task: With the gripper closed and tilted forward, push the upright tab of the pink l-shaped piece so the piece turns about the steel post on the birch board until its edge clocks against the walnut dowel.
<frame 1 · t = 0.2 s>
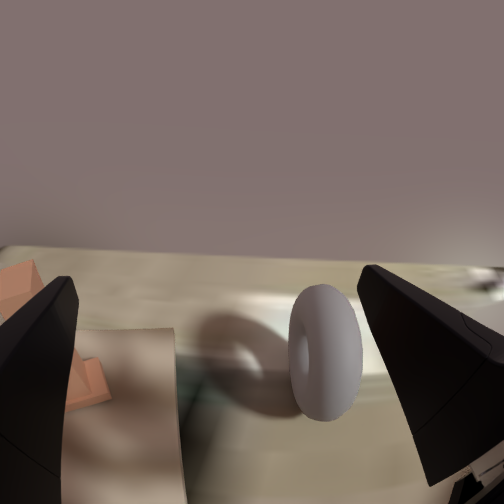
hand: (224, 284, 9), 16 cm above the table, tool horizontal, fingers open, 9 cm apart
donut: (306, 388, 23), on the table
board: (49, 449, 15), on the table
pink l-shaped piece: (11, 356, 14), point 7 cm above the table, hinge at 0.0°
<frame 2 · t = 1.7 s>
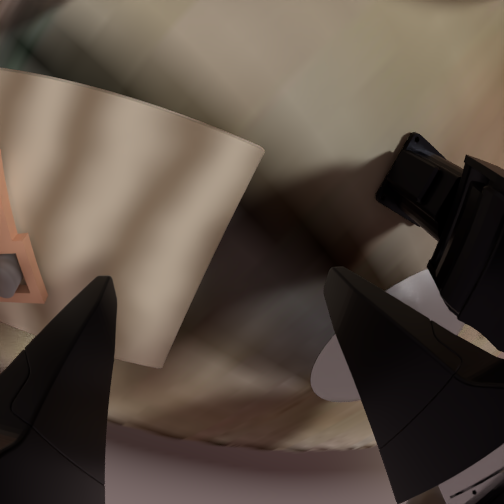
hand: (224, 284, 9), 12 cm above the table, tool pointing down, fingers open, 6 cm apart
desk lamp: (402, 345, 36), on the table
board: (51, 234, 19), on the table
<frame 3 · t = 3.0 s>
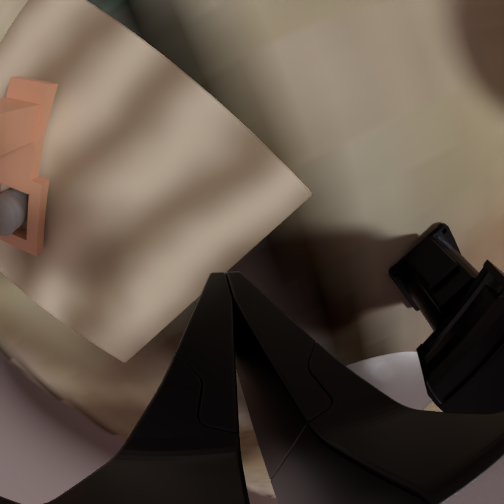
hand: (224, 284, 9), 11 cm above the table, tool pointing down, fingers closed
desk lamp: (357, 415, 36), on the table
board: (70, 190, 18), on the table
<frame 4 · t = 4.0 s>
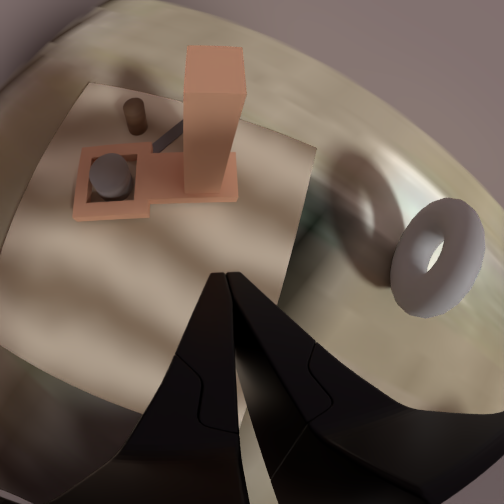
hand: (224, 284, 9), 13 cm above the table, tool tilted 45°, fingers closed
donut: (396, 266, 25), on the table
board: (138, 238, 21), on the table
pink l-shaped piece: (145, 139, 15), point 7 cm above the table, hinge at 0.0°
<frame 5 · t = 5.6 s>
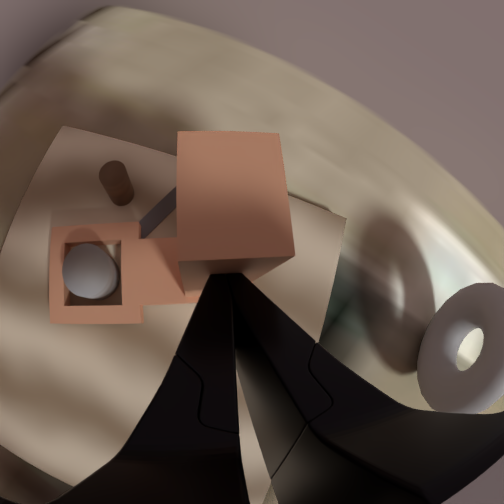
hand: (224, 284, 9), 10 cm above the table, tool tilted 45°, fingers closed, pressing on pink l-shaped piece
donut: (423, 347, 21), on the table
board: (131, 340, 17), on the table
pink l-shaped piece: (126, 252, 11), point 7 cm above the table, hinge at 0.9°, touching gripper
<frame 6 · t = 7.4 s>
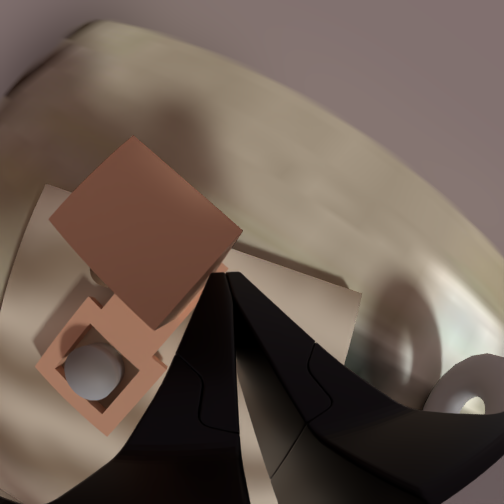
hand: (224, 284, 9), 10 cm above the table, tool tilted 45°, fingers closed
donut: (426, 405, 20), on the table
board: (141, 421, 16), on the table
pink l-shaped piece: (104, 336, 10), point 7 cm above the table, hinge at 46.2°, touching board, gripper
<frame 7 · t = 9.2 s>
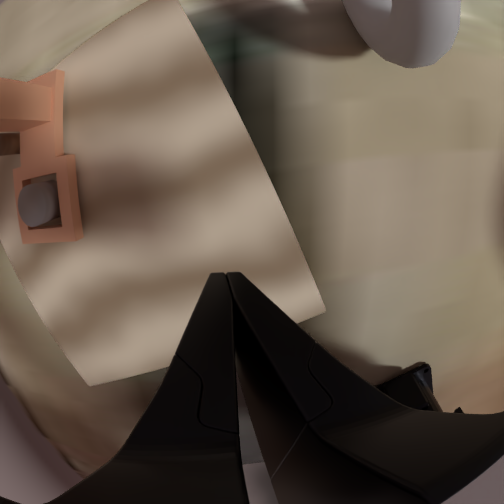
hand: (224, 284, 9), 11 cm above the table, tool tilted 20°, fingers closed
desk lamp: (284, 503, 31), on the table
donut: (363, 20, 14), on the table
board: (106, 213, 19), on the table
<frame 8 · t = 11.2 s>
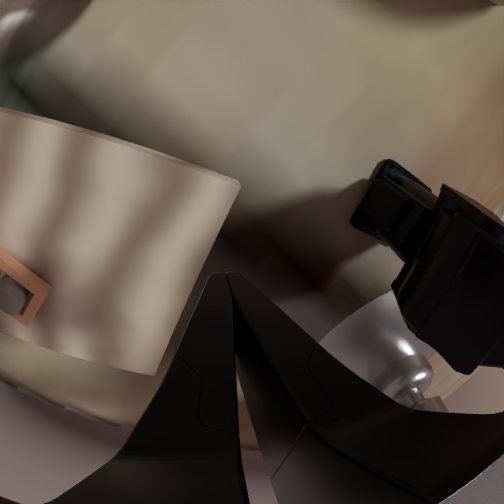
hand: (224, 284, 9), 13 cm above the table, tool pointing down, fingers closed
desk lamp: (385, 354, 39), on the table
board: (51, 258, 21), on the table
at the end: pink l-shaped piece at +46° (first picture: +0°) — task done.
